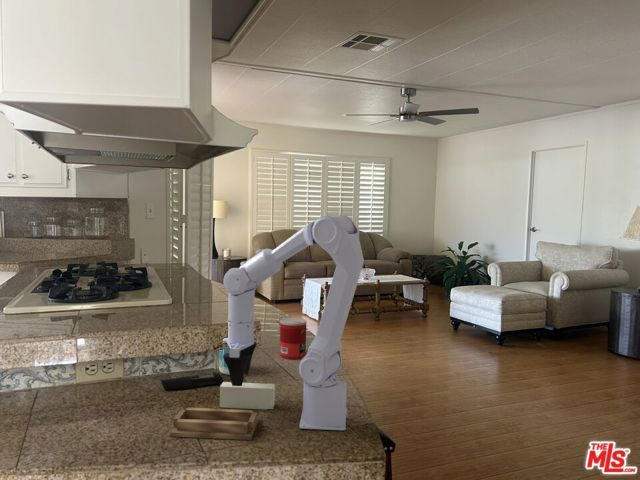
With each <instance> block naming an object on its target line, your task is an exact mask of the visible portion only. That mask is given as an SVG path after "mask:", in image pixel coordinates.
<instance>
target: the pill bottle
mask: <svg viewBox="0 0 640 480" xmlns="http://www.w3.org/2000/svg"><path fill="white" fill-rule="evenodd" d="M225 353H230V349H223V350H219V349H218V355H219V357H218V371H219V373H220V374H224V375H228V376H230V374H229V370H228V367H227V365H226V363H225V361H224V359H223V355H224V354H225Z"/></svg>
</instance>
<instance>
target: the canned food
mask: <svg viewBox="0 0 640 480" xmlns="http://www.w3.org/2000/svg"><path fill="white" fill-rule="evenodd" d="M306 345H307V320H306V319H304V318H300V317H284V318H282V319H280V323H279V356H280V357H281V358H283V359H286V360H302V359H303V358H304V357H305V356H306V354H307V352H306V351H307V346H306Z"/></svg>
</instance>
